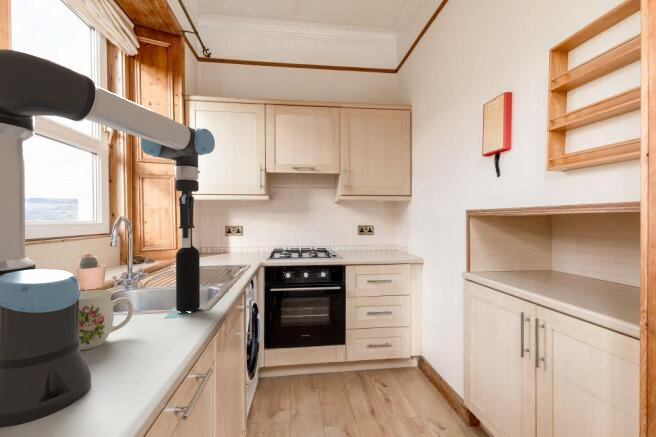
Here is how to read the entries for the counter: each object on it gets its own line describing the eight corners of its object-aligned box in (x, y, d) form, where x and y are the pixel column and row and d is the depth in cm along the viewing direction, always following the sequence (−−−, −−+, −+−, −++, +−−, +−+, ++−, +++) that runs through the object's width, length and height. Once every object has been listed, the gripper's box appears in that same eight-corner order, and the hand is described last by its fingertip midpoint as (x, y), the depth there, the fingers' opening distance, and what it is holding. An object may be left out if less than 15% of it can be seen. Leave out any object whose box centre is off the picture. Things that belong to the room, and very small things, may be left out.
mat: (203, 315, 103) (203, 315, 103) (164, 318, 100) (164, 318, 100) (208, 305, 115) (208, 305, 115) (173, 308, 112) (173, 307, 112)
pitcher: (136, 341, 82) (136, 290, 82) (45, 362, 71) (44, 302, 70) (130, 329, 91) (129, 283, 91) (47, 346, 79) (47, 293, 79)
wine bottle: (173, 312, 103) (173, 223, 103) (179, 306, 110) (178, 222, 110) (197, 310, 105) (197, 222, 104) (201, 304, 112) (201, 222, 112)
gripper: (194, 177, 100) (194, 249, 100) (201, 182, 116) (202, 244, 116) (169, 176, 98) (169, 249, 98) (180, 182, 114) (180, 245, 114)
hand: (187, 246), depth 107 cm, fingers closed on wine bottle, 3 cm apart
